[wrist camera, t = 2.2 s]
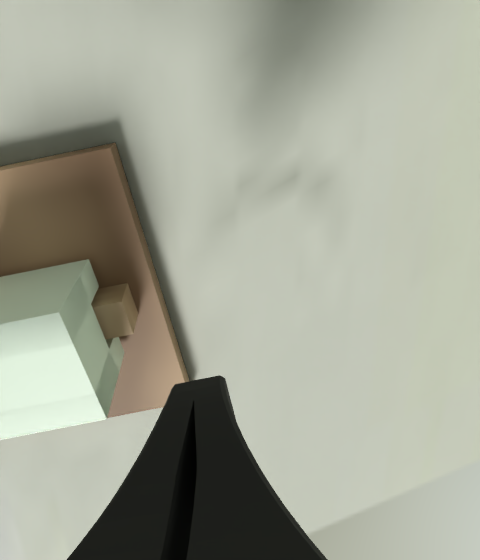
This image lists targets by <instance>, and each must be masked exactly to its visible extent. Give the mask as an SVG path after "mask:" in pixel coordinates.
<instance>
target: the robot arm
mask: <svg viewBox="0 0 480 560" xmlns="http://www.w3.org/2000/svg"><path fill="white" fill-rule="evenodd" d="M67 560H327V559H326V558H325V556H324V555H323V554H322V553H321V552H320V550H319V549H318V548H317V547H316V546H315V544H314V543H313V542H312V541H311V540H310V539H309V537H308V536H307V535H306V533H305V532H304V531H303V529H302V528H301V527H300V525H299V524H298V523H297V522H296V520H295V519H294V518H293V516H292V515H291V514H290V512H289V511H288V510H287V508H286V507H285V506H284V504H283V503H282V501H281V500H280V498H279V497H278V496H277V494H276V493H275V491H274V490H273V488H272V487H271V485H270V483H269V482H268V480H267V479H266V477H265V476H264V474H263V472H262V471H261V469H260V467H259V466H258V464H257V462H256V460H255V459H254V457H253V455H252V453H251V451H250V449H249V448H248V446H247V444H246V442H245V440H244V438H243V436H242V434H241V431H240V429H239V427H238V425H237V422H236V419H235V415H234V411H233V407H232V404H231V400H230V396H229V392H228V388H227V384H226V381H225V378H223V377H222V376H215V377H210V378H204V379H199V380H194V381H189V382H184V383H179V384H175V385H174V386H173V388H172V389H171V392H170V394H169V396H168V398H167V401H166V403H165V405H164V407H163V410H162V412H161V414H160V416H159V418H158V420H157V422H156V424H155V426H154V428H153V430H152V432H151V434H150V436H149V438H148V440H147V442H146V444H145V445H144V447H143V449H142V451H141V453H140V455H139V456H138V458H137V460H136V462H135V463H134V465H133V467H132V468H131V470H130V472H129V473H128V475H127V477H126V478H125V480H124V482H123V483H122V485H121V486H120V488H119V490H118V491H117V493H116V494H115V496H114V497H113V499H112V500H111V502H110V503H109V505H108V506H107V507H106V509H105V510H104V512H103V513H102V515H101V516H100V517H99V519H98V520H97V522H96V523H95V524H94V526H93V527H92V528H91V529H90V531H89V532H88V533H87V535H86V536H85V537H84V539H83V540H82V541H81V543H80V544H79V545H78V546H77V548H76V549H75V550H74V551H73V553H72V554H71V555H70V556H69V558H68V559H67Z"/></svg>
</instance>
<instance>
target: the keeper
mask: <svg viewBox="0 0 480 560" xmlns="http://www.w3.org/2000/svg"><path fill="white" fill-rule="evenodd" d="M98 287H99V285H98V282H97V279H96V277H95V274H94V272H93V269H92V266H91V264H90V261H89V259H87V260H82V261H77V262H72V263H67V264H62V265H57V266H52V267H47V268H42V269H37V270H32V271H27V272H22V273H17V274H13V275H8V276H3V277H0V440H3V439H8V438H13V437H18V436H23V435H28V434H33V433H39V432H44V431H49V430H54V429H59V428H64V427H69V426H75V425H80V424H85V423H90V422H95V421H100V420H106V419H107V417H108V413H109V409H110V405H111V402H112V398H113V394H114V390H115V387H116V383H117V379H118V375H119V371H120V368H121V364H122V360H123V356H124V353H125V352H124V350H123V347H122V344H121V342H120V339H119V337H115V338H110V339H105V337H104V335H103V332H102V330H101V328H100V325H99V323H98V320H97V318H96V315H95V313H94V310H93V308H92V305H91V303H92V301H93V299H94V296H95V294H96V292H97V290H98Z"/></svg>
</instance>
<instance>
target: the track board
mask: <svg viewBox="0 0 480 560" xmlns="http://www.w3.org/2000/svg"><path fill="white" fill-rule="evenodd" d="M87 259H89V261H90V264H91V266H92V269H93V272H94V274H95V277H96V279H97V282H98V285H99V287H98V290H97V292H96V294H95V296H94V299H93V301H92V303H91V305H92V308H93V310H94V313H95V315H96V318H97V320H98V323H99V325H100V328H101V330H102V332H103V335H104V337H105V339H110V338H115V337H119V339H120V342H121V344H122V347H123V350H124V352H125V353H124V356H123V360H122V364H121V368H120V371H119V375H118V379H117V383H116V387H115V390H114V394H113V398H112V402H111V405H110V409H109V413H108V417H107V418H109V417H114V416H120V415H125V414H130V413H135V412H140V411H145V410H150V409H156V408H161V407H164V405H165V403H166V401H167V398H168V396H169V394H170V392H171V389H172V388H173V386H174V385H175V384H179V383H184V382H189V378H188V375H187V371H186V368H185V365H184V362H183V358H182V355H181V352H180V349H179V346H178V342H177V339H176V336H175V333H174V330H173V326H172V323H171V320H170V317H169V313H168V310H167V307H166V304H165V301H164V297H163V294H162V291H161V288H160V284H159V281H158V278H157V275H156V272H155V268H154V265H153V262H152V259H151V256H150V252H149V249H148V246H147V243H146V239H145V236H144V233H143V230H142V227H141V223H140V220H139V217H138V214H137V211H136V207H135V204H134V201H133V198H132V194H131V191H130V188H129V185H128V182H127V178H126V175H125V172H124V169H123V166H122V162H121V159H120V156H119V153H118V149H117V146H116V143H111V144H106V145H101V146H96V147H91V148H87V149H82V150H77V151H72V152H67V153H63V154H58V155H53V156H48V157H44V158H39V159H34V160H29V161H24V162H20V163H15V164H10V165H5V166H0V277H3V276H8V275H13V274H17V273H22V272H27V271H32V270H37V269H42V268H47V267H52V266H57V265H62V264H67V263H72V262H77V261H82V260H87Z"/></svg>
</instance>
